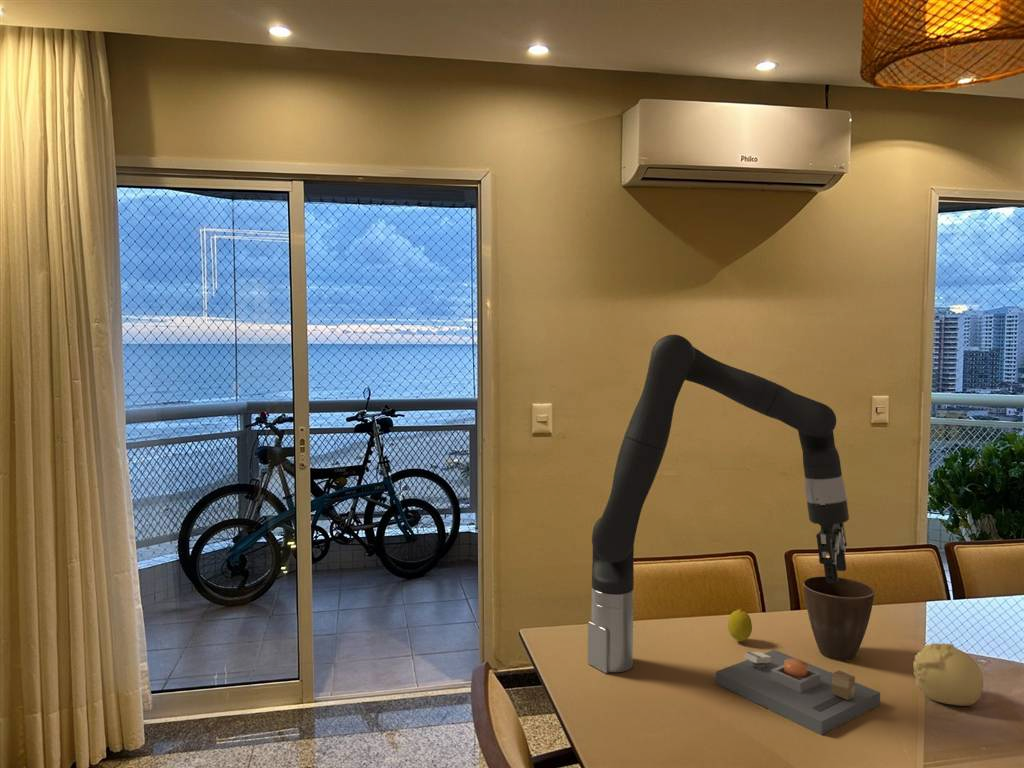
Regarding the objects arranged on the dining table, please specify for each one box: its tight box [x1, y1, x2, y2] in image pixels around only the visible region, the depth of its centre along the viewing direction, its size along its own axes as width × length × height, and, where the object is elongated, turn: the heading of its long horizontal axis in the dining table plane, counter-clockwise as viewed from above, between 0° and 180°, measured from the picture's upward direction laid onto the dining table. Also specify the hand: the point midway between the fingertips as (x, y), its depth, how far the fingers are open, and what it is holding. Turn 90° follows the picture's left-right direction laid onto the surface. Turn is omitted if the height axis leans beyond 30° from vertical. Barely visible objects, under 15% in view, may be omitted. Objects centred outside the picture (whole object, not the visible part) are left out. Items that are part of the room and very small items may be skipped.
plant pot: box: [802, 575, 875, 662], centre depth 159 cm, size 15×15×16 cm
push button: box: [784, 658, 808, 678], centre depth 141 cm, size 4×4×2 cm
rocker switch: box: [744, 651, 771, 663], centre depth 148 cm, size 5×3×1 cm, turn 124°
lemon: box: [727, 608, 753, 643], centre depth 166 cm, size 6×6×8 cm
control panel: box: [715, 649, 881, 736], centre depth 141 cm, size 20×24×4 cm
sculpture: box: [912, 642, 984, 707], centre depth 139 cm, size 12×12×11 cm
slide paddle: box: [831, 669, 856, 700], centre depth 134 cm, size 2×3×4 cm
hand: (836, 576), depth 142 cm, fingers open, 8 cm apart
